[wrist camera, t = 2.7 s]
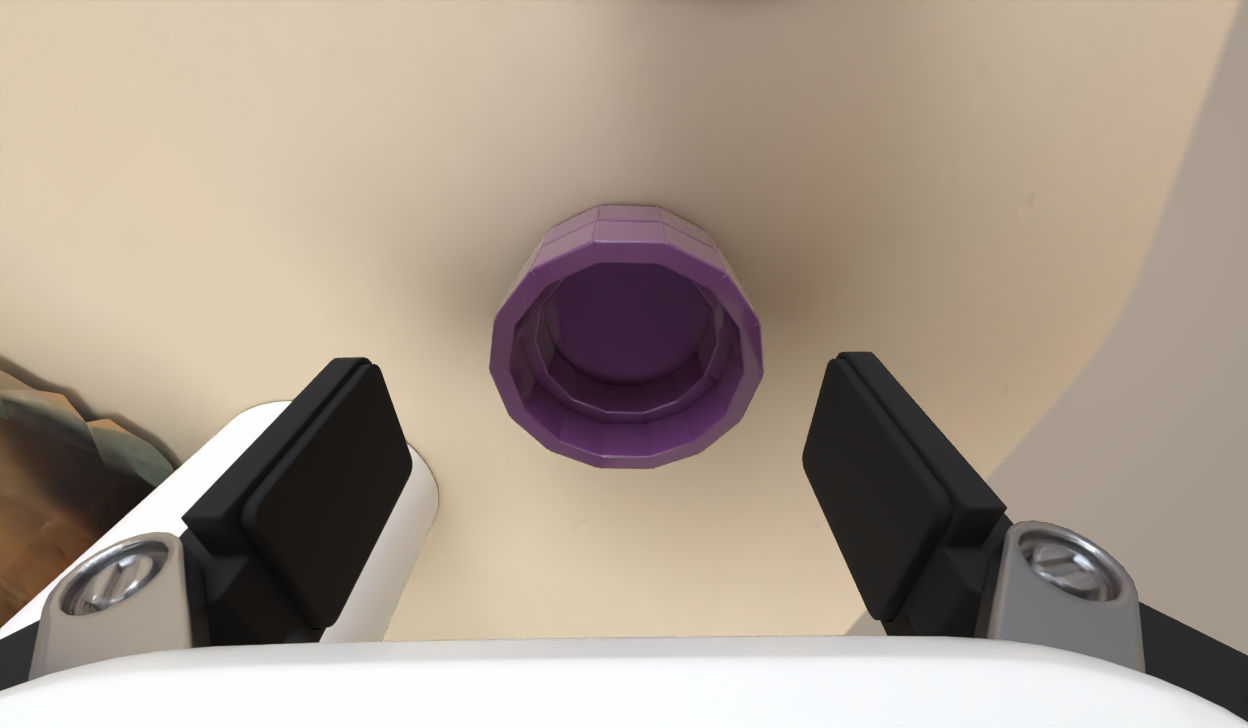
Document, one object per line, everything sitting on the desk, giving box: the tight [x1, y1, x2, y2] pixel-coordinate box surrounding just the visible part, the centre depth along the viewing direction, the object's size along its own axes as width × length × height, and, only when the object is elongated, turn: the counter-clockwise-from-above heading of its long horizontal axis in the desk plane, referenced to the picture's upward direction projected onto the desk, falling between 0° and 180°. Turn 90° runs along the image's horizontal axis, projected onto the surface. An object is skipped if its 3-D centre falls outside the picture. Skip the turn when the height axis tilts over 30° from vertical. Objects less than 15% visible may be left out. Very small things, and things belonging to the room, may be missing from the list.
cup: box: [0, 401, 439, 643], centre depth 12 cm, size 8×8×16 cm
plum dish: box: [489, 205, 764, 469], centre depth 13 cm, size 7×7×3 cm
